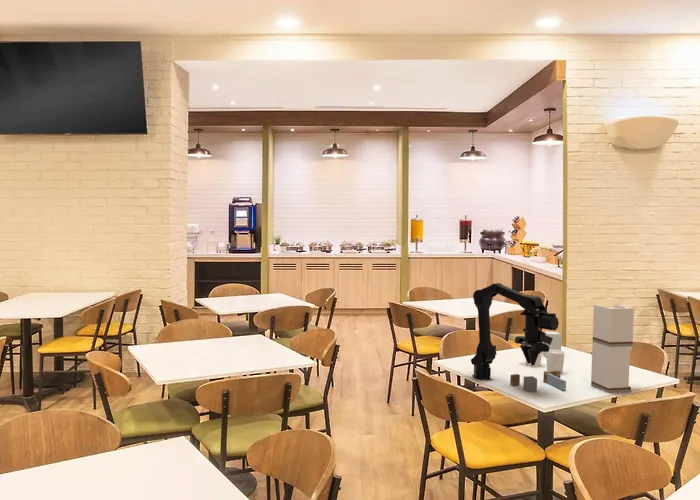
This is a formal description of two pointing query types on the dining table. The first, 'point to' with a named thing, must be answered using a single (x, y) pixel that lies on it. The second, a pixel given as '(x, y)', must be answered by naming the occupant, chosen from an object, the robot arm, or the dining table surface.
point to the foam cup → (536, 361)
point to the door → (556, 382)
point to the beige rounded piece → (555, 360)
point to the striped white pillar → (612, 348)
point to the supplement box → (554, 341)
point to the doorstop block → (530, 384)
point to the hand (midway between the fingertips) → (530, 364)
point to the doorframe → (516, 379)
